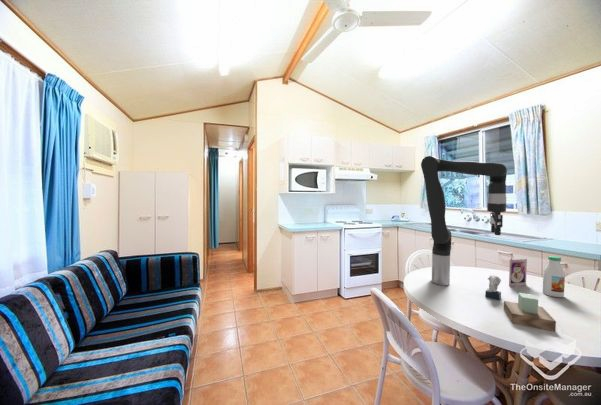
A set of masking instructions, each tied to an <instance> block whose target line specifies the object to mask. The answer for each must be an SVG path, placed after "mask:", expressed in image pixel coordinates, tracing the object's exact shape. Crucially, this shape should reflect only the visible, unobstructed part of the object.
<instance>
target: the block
mask: <svg viewBox="0 0 601 405" xmlns="http://www.w3.org/2000/svg"><path fill="white" fill-rule="evenodd" d="M517 294H518V295H517V297H518V298H517V299H518V300H517V303H518V307H519V308H520V310H521V311H523V312H529V313H534V314H538V306H539V298H538V297H536V296H535V295H534V294H528V293H524V292H518V293H517Z"/></svg>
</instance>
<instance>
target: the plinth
mask: <svg viewBox="0 0 601 405" xmlns="http://www.w3.org/2000/svg"><path fill="white" fill-rule="evenodd" d="M503 310H504V312H505V314H506V316H507V317H508V319H509V321H510V322H511V324H515V325H521V326H526V327H529V328H530V327H531V328H537V329H540V328H541V329H540V330H545V329H547V331H551V330H553V331H552V332H556V329H557V328H556V327H557V325H556V324H557V321H556V320H555V319H554V318H553V316H552V315H551V314H550V313H549V312H548V311H547V310H546V309H545V308H544V307H543V306H539V305H538V314H534V313H529V312H523V311H521V310H520V308H519V307H518V302H514V301H507V300H503Z"/></svg>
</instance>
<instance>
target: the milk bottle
mask: <svg viewBox="0 0 601 405" xmlns="http://www.w3.org/2000/svg"><path fill="white" fill-rule="evenodd" d="M547 260H548V263H547V264H546V266H545V267H544V270H543V275H542V277H543V278H542V293H543V294H545V295H546V296H550V297H553V298H564V296H565V282H566V281H565V270H564V269H563V267H562V265H561V263H562V257H560V256H555V255H549V256H548V259H547Z"/></svg>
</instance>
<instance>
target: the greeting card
mask: <svg viewBox="0 0 601 405" xmlns="http://www.w3.org/2000/svg"><path fill="white" fill-rule="evenodd" d="M527 264H528V258H522V259H521V258H520V259H513V256H511V257H510V259H509V271H508V272H509V276H508V280H509V281H508V287H514V286H526V285H527V266H528V265H527Z"/></svg>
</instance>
